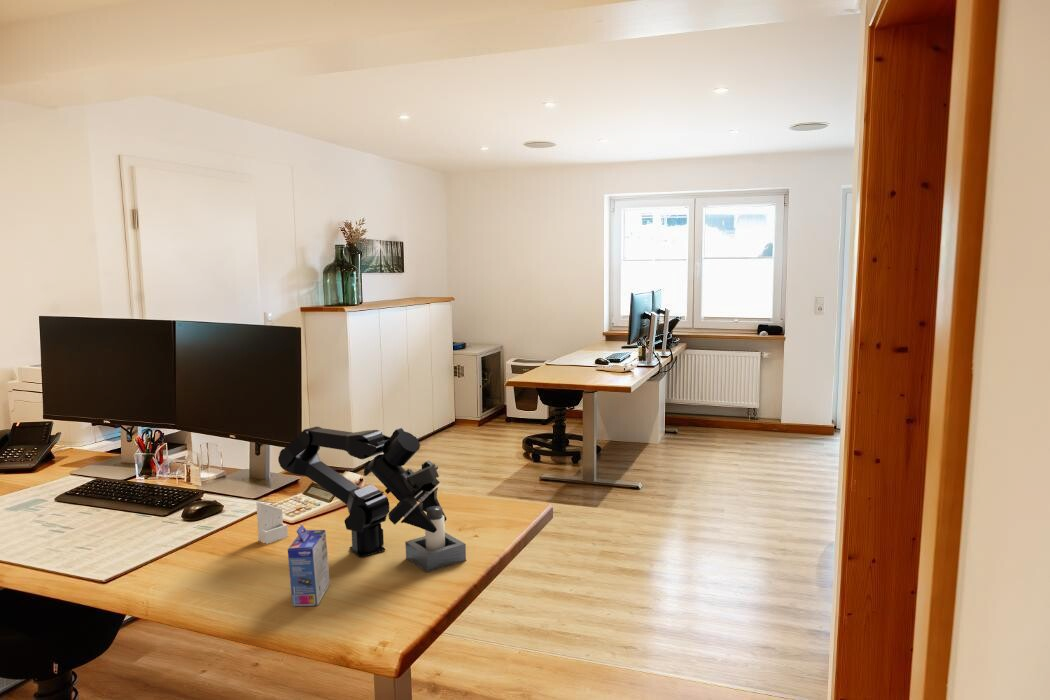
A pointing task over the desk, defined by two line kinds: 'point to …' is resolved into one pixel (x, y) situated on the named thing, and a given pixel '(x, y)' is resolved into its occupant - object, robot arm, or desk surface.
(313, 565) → the ink cartridge box
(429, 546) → the white bottle
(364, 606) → the desk surface
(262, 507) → the white wall holder
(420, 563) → the collar
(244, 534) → the desk surface
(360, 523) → the robot arm
